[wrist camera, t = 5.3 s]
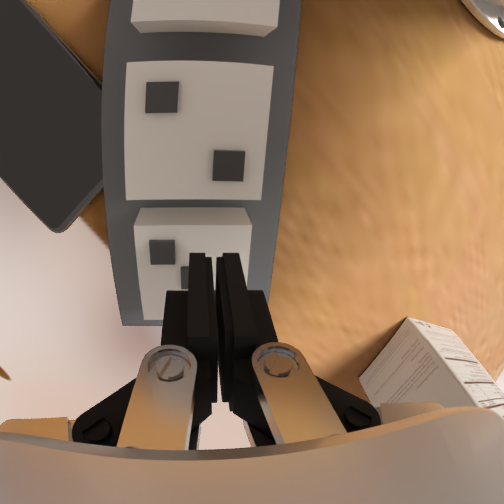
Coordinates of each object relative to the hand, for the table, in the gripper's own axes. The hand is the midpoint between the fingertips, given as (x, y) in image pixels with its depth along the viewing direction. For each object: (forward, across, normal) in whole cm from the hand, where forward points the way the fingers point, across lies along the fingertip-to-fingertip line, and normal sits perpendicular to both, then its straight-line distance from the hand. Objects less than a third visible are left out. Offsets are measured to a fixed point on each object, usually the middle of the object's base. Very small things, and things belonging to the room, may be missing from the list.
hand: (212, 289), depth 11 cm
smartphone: (+6, +11, -8) cm, 15 cm away
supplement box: (+6, -17, +12) cm, 22 cm away
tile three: (+4, +1, +1) cm, 4 cm away
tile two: (+3, +1, -5) cm, 6 cm away
